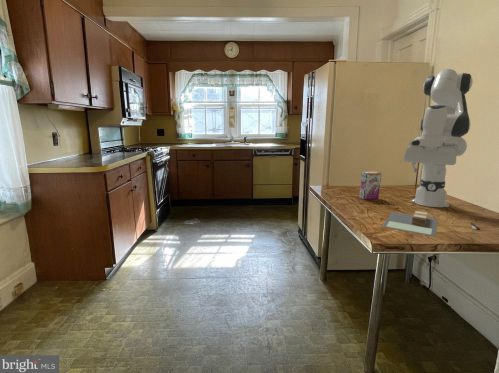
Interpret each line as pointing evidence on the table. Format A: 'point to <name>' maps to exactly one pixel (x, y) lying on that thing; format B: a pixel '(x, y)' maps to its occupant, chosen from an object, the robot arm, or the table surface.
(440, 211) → the table surface
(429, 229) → the rubber mat
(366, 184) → the candy bar box
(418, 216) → the beige rectangular block
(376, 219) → the table surface
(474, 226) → the chocolate bar
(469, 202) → the table surface
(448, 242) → the table surface
